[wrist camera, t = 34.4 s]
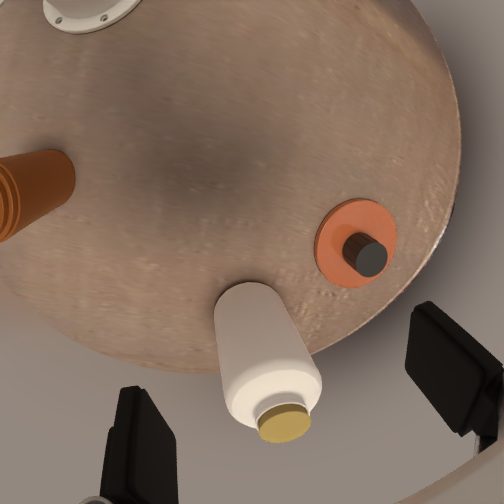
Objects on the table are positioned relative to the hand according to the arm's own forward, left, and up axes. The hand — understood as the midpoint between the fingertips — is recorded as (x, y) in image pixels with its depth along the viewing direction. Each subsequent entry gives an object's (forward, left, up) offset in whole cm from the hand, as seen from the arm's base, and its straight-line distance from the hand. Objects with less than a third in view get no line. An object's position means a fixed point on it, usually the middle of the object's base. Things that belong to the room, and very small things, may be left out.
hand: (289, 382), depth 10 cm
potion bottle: (+8, +10, -25) cm, 28 cm away
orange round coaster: (-7, +15, -25) cm, 30 cm away
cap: (-6, +15, -24) cm, 29 cm away
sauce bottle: (+9, -17, -25) cm, 32 cm away
